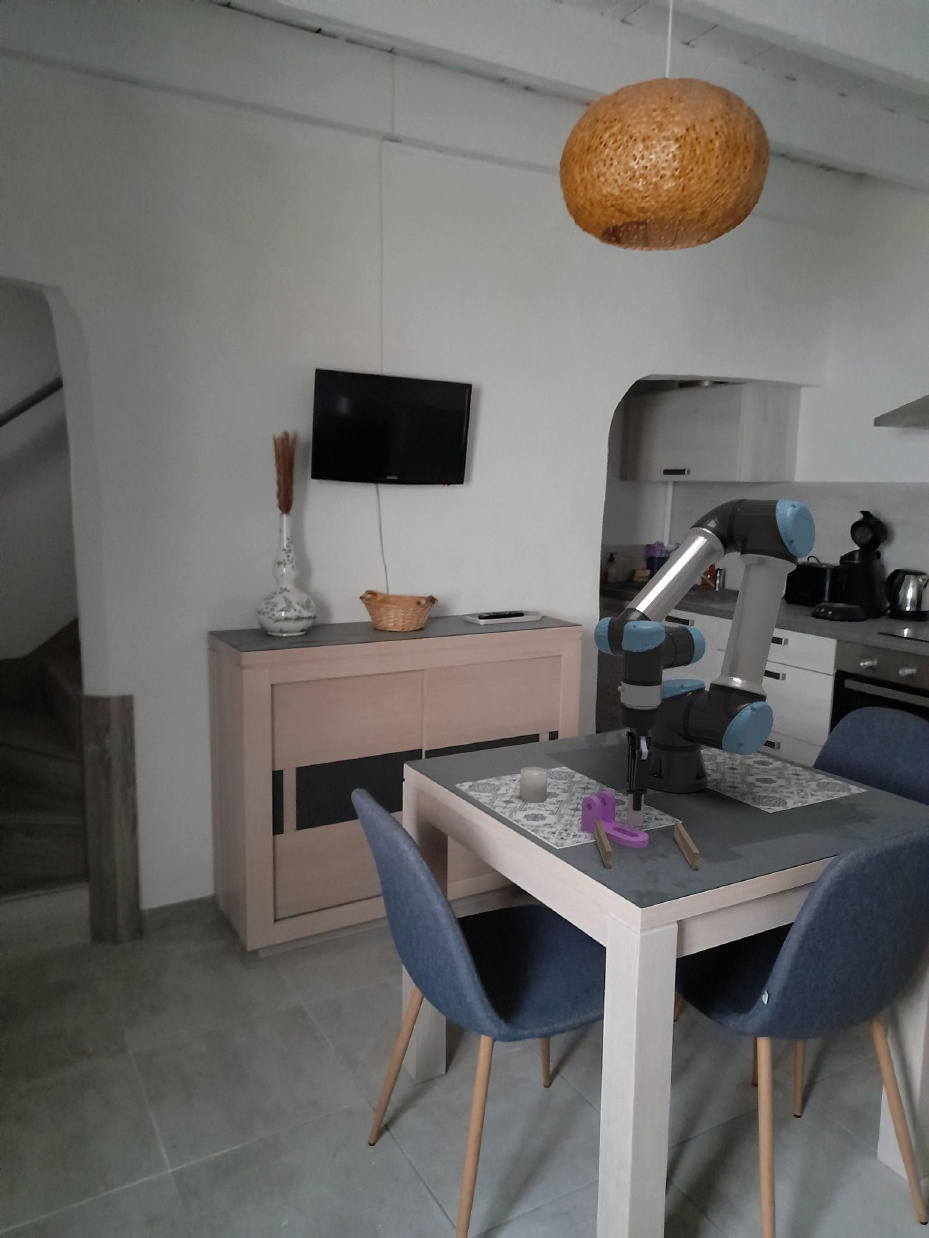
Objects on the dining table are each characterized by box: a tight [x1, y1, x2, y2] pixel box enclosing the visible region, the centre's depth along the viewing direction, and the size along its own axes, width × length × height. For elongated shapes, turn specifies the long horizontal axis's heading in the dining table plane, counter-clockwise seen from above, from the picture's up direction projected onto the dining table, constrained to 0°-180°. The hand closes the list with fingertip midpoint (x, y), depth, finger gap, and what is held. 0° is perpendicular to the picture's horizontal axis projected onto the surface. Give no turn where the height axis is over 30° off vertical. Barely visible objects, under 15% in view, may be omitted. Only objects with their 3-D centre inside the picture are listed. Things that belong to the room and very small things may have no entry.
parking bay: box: [593, 821, 701, 870], centre depth 159 cm, size 16×14×3 cm
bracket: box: [580, 790, 649, 849], centre depth 166 cm, size 13×6×7 cm, turn 42°
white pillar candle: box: [519, 766, 548, 804], centre depth 185 cm, size 6×6×6 cm
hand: (634, 824), depth 169 cm, fingers closed
